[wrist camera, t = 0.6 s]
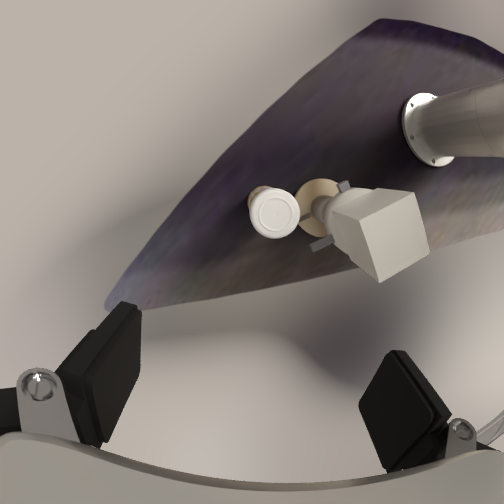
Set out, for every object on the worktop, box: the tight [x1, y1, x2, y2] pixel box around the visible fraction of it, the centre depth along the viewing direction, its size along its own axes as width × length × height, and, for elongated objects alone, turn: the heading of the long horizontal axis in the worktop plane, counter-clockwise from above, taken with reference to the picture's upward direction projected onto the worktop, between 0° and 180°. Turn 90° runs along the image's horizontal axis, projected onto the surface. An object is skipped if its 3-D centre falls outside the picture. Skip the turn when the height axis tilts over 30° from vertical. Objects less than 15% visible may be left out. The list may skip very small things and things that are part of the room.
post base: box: [294, 179, 339, 237], centre depth 32 cm, size 8×8×12 cm
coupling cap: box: [309, 181, 430, 283], centre depth 22 cm, size 9×8×8 cm
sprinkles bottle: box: [248, 186, 300, 239], centre depth 31 cm, size 5×5×13 cm
